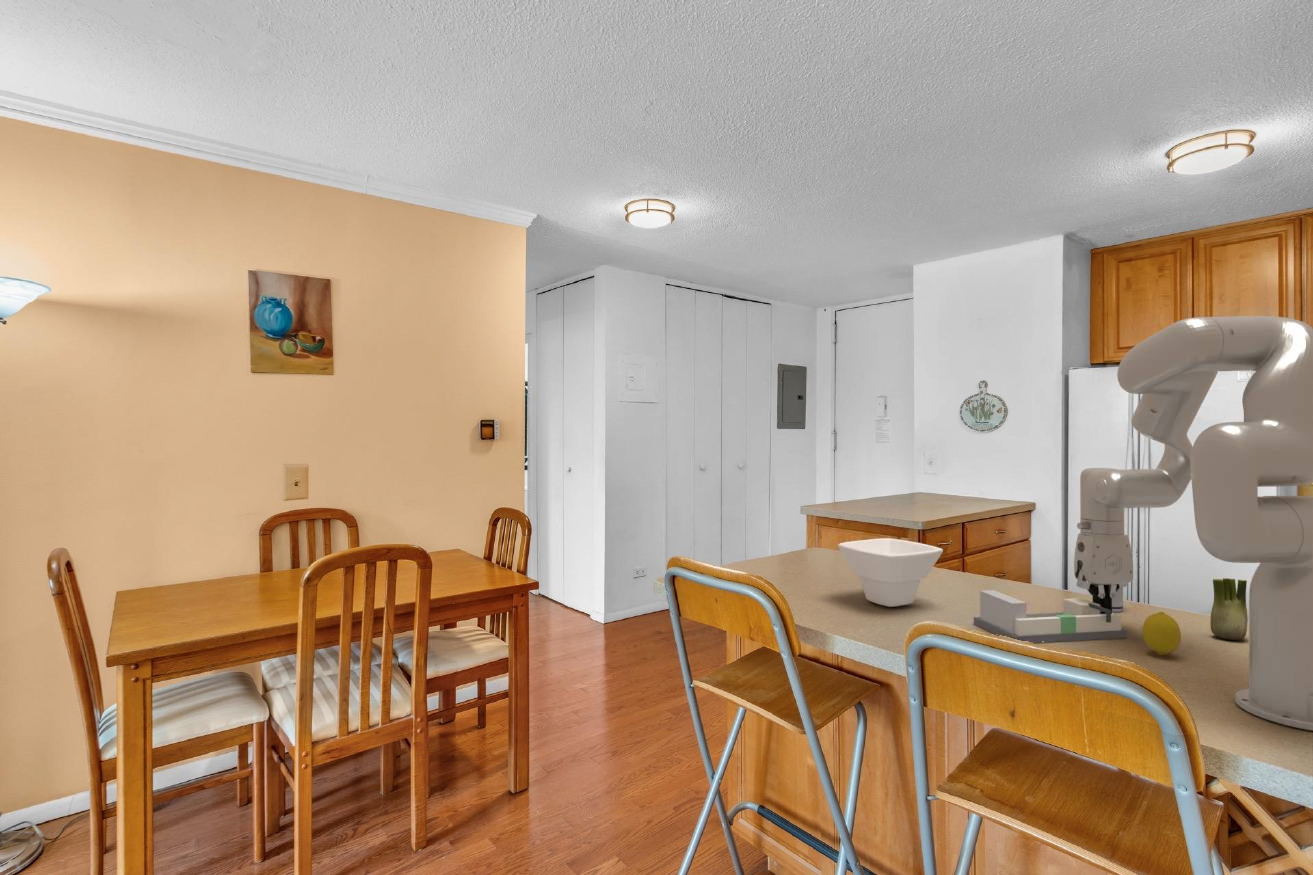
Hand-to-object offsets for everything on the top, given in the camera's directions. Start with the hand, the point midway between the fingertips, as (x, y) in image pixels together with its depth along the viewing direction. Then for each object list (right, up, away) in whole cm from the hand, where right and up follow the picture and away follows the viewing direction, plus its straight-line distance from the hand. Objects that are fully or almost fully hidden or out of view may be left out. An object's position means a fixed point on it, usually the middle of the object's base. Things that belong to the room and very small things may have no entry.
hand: (1102, 615), depth 133 cm
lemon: (0, -3, -16) cm, 16 cm away
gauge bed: (-12, -3, -2) cm, 13 cm away
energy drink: (+11, -3, +14) cm, 18 cm away
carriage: (-4, -1, -3) cm, 5 cm away
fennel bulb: (+20, -3, -8) cm, 21 cm away
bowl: (-37, -3, +19) cm, 42 cm away
